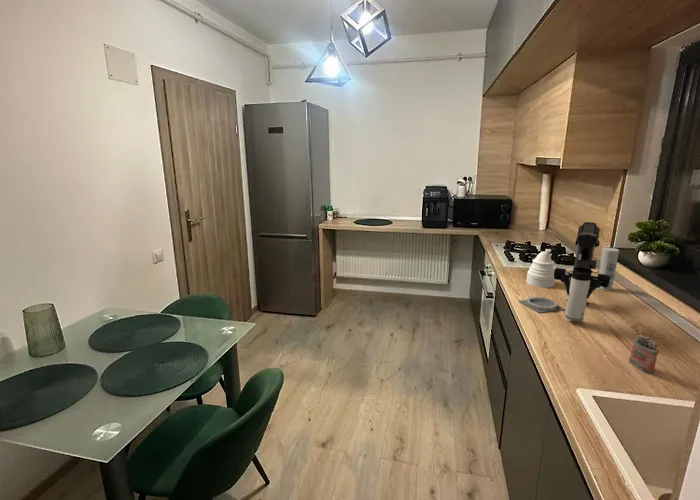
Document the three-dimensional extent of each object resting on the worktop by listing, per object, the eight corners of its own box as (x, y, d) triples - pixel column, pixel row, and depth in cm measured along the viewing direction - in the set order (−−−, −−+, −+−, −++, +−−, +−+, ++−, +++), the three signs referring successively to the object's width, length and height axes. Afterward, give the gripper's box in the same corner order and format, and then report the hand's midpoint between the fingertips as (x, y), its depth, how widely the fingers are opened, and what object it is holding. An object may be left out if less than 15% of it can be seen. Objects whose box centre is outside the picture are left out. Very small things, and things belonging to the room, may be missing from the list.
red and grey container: (625, 360, 122) (631, 332, 120) (635, 359, 123) (641, 331, 120) (646, 374, 115) (653, 344, 112) (657, 374, 115) (663, 344, 112)
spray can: (602, 285, 189) (609, 247, 184) (615, 290, 183) (622, 250, 178) (592, 287, 187) (599, 248, 182) (605, 291, 181) (612, 251, 176)
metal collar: (543, 298, 173) (543, 295, 172) (563, 308, 161) (563, 305, 161) (520, 301, 170) (520, 298, 170) (539, 311, 159) (539, 308, 158)
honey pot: (559, 284, 192) (564, 249, 187) (545, 289, 185) (550, 253, 180) (535, 277, 202) (539, 244, 198) (521, 282, 195) (525, 248, 191)
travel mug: (586, 322, 146) (595, 273, 140) (568, 320, 147) (576, 272, 142) (580, 315, 152) (589, 267, 146) (562, 313, 153) (570, 266, 148)
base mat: (543, 298, 173) (543, 298, 173) (565, 310, 161) (565, 309, 161) (518, 301, 170) (518, 300, 170) (538, 313, 158) (539, 312, 158)
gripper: (557, 248, 151) (550, 282, 145) (614, 254, 141) (609, 291, 135) (557, 262, 159) (550, 294, 153) (610, 269, 149) (605, 304, 143)
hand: (577, 296), depth 146 cm, fingers closed on travel mug, 6 cm apart
